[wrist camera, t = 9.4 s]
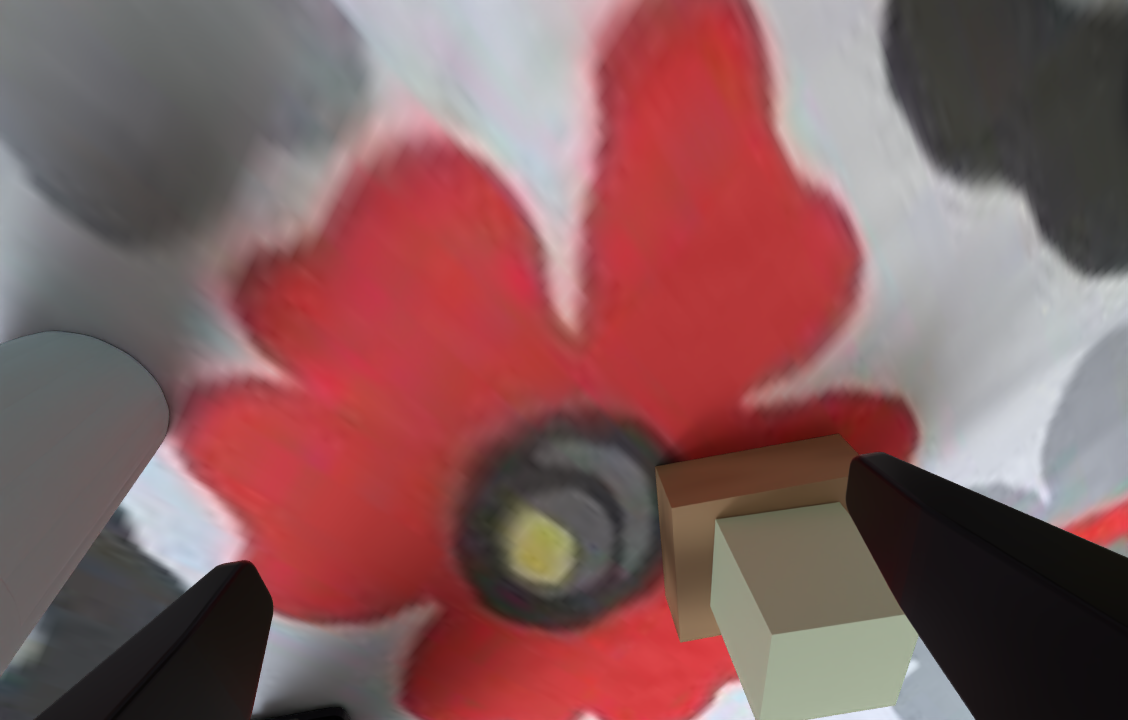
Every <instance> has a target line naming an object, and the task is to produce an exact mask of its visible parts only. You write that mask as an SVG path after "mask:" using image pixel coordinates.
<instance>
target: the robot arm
mask: <svg viewBox="0 0 1128 720" xmlns="http://www.w3.org/2000/svg"><path fill="white" fill-rule="evenodd" d="M845 499H846V506H847V509H848V512H849V514H850V516H851V518H852V520H853V522H854V524H855V525H856V527H857V529H858V531H859V533H860V535H861V537H862V538H863V540H864V542H865V544H866V546H867V548H868V550H869V551H870V553H871V555H872V557H873V559H874V561H875V563H876V564H877V566H878V568H879V570H880V572H881V574H882V576H883V577H884V579H885V581H886V583H887V585H888V587H889V589H890V590H891V592H892V594H893V596H894V597H895V599H896V601H897V603H898V604H899V606H900V608H901V609H902V611H903V612H904V614H905V615H906V617H907V619H908V620H909V622H910V623H911V625H912V626H913V628H914V629H915V631H916V632H917V634H918V635H919V637H920V638H921V640H922V641H923V642H924V644H925V645H926V647H927V648H928V650H929V651H930V653H931V654H932V656H933V657H934V659H935V660H936V662H937V663H938V665H939V666H940V668H941V669H942V671H943V672H944V674H945V675H946V677H947V678H948V680H949V681H950V683H951V684H952V686H953V687H954V688H955V690H956V691H957V693H958V694H959V696H960V697H961V699H962V700H963V702H964V703H965V705H966V706H967V708H968V709H969V711H970V712H971V714H972V715H973V717H974V718H975V720H1128V558H1127V557H1125V556H1123V555H1120V554H1118V553H1116V552H1113V551H1111V550H1109V549H1107V548H1104V547H1102V546H1100V545H1097V544H1095V543H1093V542H1090V541H1088V540H1086V539H1083V538H1081V537H1079V536H1076V535H1074V534H1072V533H1069V532H1067V531H1065V530H1062V529H1060V528H1058V527H1056V526H1053V525H1051V524H1049V523H1046V522H1044V521H1042V520H1039V519H1037V518H1035V517H1032V516H1030V515H1028V514H1025V513H1023V512H1021V511H1018V510H1016V509H1014V508H1011V507H1009V506H1007V505H1005V504H1002V503H1000V502H998V501H995V500H993V499H991V498H988V497H986V496H984V495H981V494H979V493H977V492H974V491H972V490H970V489H967V488H965V487H963V486H960V485H958V484H956V483H953V482H951V481H949V480H947V479H944V478H942V477H940V476H937V475H935V474H933V473H930V472H928V471H926V470H923V469H921V468H919V467H916V466H914V465H912V464H909V463H907V462H905V461H902V460H900V459H898V458H896V457H893V456H891V455H889V454H886V453H883V452H873V453H868V454H862V455H857V456H855V457H853V459H852V460H851V462H850V468H849V475H848V482H847V489H846V498H845ZM272 617H273V601H272V597H271V595H270V593H269V591H268V589H267V588H266V586H265V584H264V582H263V580H262V578H261V577H260V575H259V573H258V571H257V569H256V567H255V566H254V564H253V563H251V562H250V561H246V560H242V561H236V562H230V563H224V564H221V565H218V566H216V567H215V568H214V569H212V570H211V571H210V572H209V573H208V574H206V575H205V576H204V577H203V578H202V579H200V580H199V581H198V582H197V583H196V584H195V585H193V586H192V587H191V588H190V589H189V590H187V591H186V592H185V593H184V594H183V595H181V596H180V597H179V598H178V599H177V600H175V601H174V602H173V603H172V604H171V605H170V606H168V607H167V608H166V609H165V610H164V611H162V612H161V613H160V614H159V615H158V616H156V617H155V618H154V619H153V620H152V621H150V622H149V623H148V624H147V625H146V626H145V627H143V628H142V629H141V630H140V631H139V632H137V633H136V634H135V635H134V636H133V637H131V638H130V639H129V640H128V641H127V642H125V643H124V644H123V645H122V646H121V647H120V648H118V649H117V650H116V651H115V652H114V653H112V654H111V655H110V656H109V657H108V658H106V659H105V660H104V661H103V662H102V663H100V664H99V665H98V666H97V667H96V668H95V669H93V670H92V671H91V672H90V673H89V674H87V675H86V676H85V677H84V678H83V679H81V680H80V681H79V682H78V683H77V684H75V685H74V686H73V687H72V688H71V689H69V690H68V691H67V692H66V693H65V694H64V695H62V696H61V697H60V698H59V699H58V700H56V701H55V702H54V703H53V704H52V705H50V706H49V707H48V708H47V709H46V710H44V711H43V712H42V713H41V714H40V715H39V716H37V717H36V718H35V719H34V720H250V718H251V714H252V710H253V706H254V701H255V697H256V692H257V687H258V682H259V678H260V673H261V668H262V664H263V659H264V654H265V649H266V645H267V640H268V635H269V631H270V626H271V621H272ZM267 720H350V718H349V716H348V715H347V713H346V711H345V710H344V709H342V708H338V707H334V708H328V709H322V710H317V711H311V712H306V713H300V714H294V715H289V716H283V717H278V718H272V719H267Z"/></svg>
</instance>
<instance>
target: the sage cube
mask: <svg viewBox="0 0 1128 720" xmlns="http://www.w3.org/2000/svg"><path fill="white" fill-rule="evenodd" d="M710 607H711V609H712V612H713V614H714V617H715V619H716V622H717V624H718V627H719V629H720V632H721V634H722V637H723V639H724V642H725V644H726V647H727V649H728V652H729V654H730V657H731V659H732V662H733V664H734V667H735V669H736V672H737V674H738V677H739V679H740V682H741V685H742V687H743V690H744V692H745V695H746V697H747V700H748V702H749V705H750V707H751V710H752V712H753V715H754V717H755V720H808V719H814V718H820V717H826V716H832V715H839V714H845V713H851V712H857V711H863V710H869V709H875V708H881V707H888V706H894V705H895V704H896V702H897V699H898V696H899V693H900V690H901V687H902V684H903V681H904V678H905V675H906V672H907V669H908V666H909V663H910V660H911V657H912V654H913V651H914V648H915V645H916V642H917V639H918V636H919V635H918V634H917V632H916V631H915V629H914V628H913V626H912V625H911V623H910V622H909V620H908V619H907V617H906V615H905V614H904V612H903V611H902V609H901V608H900V606H899V604H898V603H897V601H896V599H895V597H894V596H893V594H892V592H891V590H890V589H889V587H888V585H887V583H886V581H885V579H884V577H883V576H882V574H881V572H880V570H879V568H878V566H877V564H876V563H875V561H874V559H873V557H872V555H871V553H870V551H869V550H868V548H867V546H866V544H865V542H864V540H863V538H862V537H861V535H860V533H859V531H858V529H857V527H856V525H855V524H854V522H853V520H852V518H851V516H850V515H849V513H848V512H847V511H846V510H845V508H844V507H843V506H842V505H841V503H840V502H836V503H829V504H822V505H815V506H807V507H800V508H793V509H786V510H779V511H772V512H765V513H758V514H751V515H744V516H737V517H729V518H722V519H715V535H714V552H713V568H712V585H711V601H710Z"/></svg>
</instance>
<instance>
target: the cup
mask: <svg viewBox="0 0 1128 720" xmlns="http://www.w3.org/2000/svg"><path fill="white" fill-rule="evenodd" d="M168 422H169V409H168V405H167V402H166V400H165V397H164V395H163V392H162V390H161V388H160V386H159V385H158V383H157V381H156V380H155V379H154V378H153V376H152V375H151V374H150V373H149V372H148V371H147V370H146V369H145V368H144V367H143V366H142V365H141V364H140V363H139V362H137V361H136V360H135V359H134V358H132V357H131V356H130V355H128V354H127V353H125V352H123V351H122V350H120V349H118V348H116V347H114V346H112V345H110V344H108V343H105V342H103V341H101V340H99V339H96V338H93V337H90V336H86V335H81V334H75V333H68V332H59V331H48V332H40V333H36V334H33V335H28V336H24V337H20V338H17V339H14V340H11V341H8V342H5V343H2V344H0V677H1V675H2V674H3V672H4V671H5V669H6V668H7V666H8V665H9V664H10V662H11V661H12V659H13V657H14V656H15V654H16V653H17V651H18V650H19V648H20V647H21V646H22V644H23V643H24V641H25V640H26V638H27V637H28V635H29V634H30V633H31V631H32V630H33V628H34V627H35V625H36V624H37V623H38V621H39V620H40V618H41V617H42V615H43V614H44V612H45V611H46V610H47V608H48V607H49V605H50V604H51V602H52V601H53V600H54V598H55V597H56V595H57V594H58V592H59V591H60V590H61V588H62V587H63V585H64V584H65V582H66V581H67V579H68V578H69V577H70V575H71V574H72V572H73V571H74V569H75V568H76V567H77V565H78V564H79V562H80V561H81V559H82V558H83V556H84V555H85V554H86V552H87V551H88V549H89V548H90V546H91V545H92V543H93V542H94V541H95V539H96V538H97V536H98V535H99V533H100V532H101V531H102V529H103V528H104V526H105V525H106V523H107V522H108V520H109V519H110V518H111V516H112V515H113V513H114V512H115V510H116V509H117V507H118V506H119V505H120V503H121V502H122V500H123V499H124V497H125V496H126V495H127V493H128V492H129V490H130V489H131V487H132V486H133V484H134V483H135V482H136V480H137V479H138V477H139V476H140V474H141V473H142V472H143V470H144V469H145V467H146V466H147V464H148V463H149V461H150V460H151V459H152V457H153V456H154V454H155V453H156V451H157V450H158V448H159V447H160V445H161V443H162V442H163V440H164V438H165V436H166V432H167V428H168Z"/></svg>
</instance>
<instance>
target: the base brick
mask: <svg viewBox="0 0 1128 720" xmlns="http://www.w3.org/2000/svg"><path fill="white" fill-rule="evenodd" d="M857 455H859V454H858V453H857V452H856V451H855V450H854V449H853V448H852V447H851V446H850V445H849V444H848V443H847V442H846V441H845V440H844V439H843V437H842V436H841V435H840V434H834V435H828V436H823V437H817V438H812V439H806V440H800V441H795V442H789V443H784V444H778V445H772V446H767V447H761V448H756V449H750V450H744V451H739V452H733V453H728V454H722V455H716V456H711V457H705V458H700V459H694V460H688V461H683V462H677V463H672V464H666V465H660V466H655V472H656V484H657V497H658V509H659V522H660V534H661V547H662V560H663V572H664V585H665V596H666V599H667V602H668V605H669V608H670V611H671V615H672V618H673V621H674V624H675V627H676V630H677V633H678V636H679V640H680V642H686V641H691V640H696V639H702V638H707V637H713V636H718V635H722V634H721V632H720V629H719V627H718V624H717V622H716V619H715V617H714V614H713V612H712V609H711V607H710V601H711V585H712V568H713V552H714V535H715V519H722V518H729V517H737V516H744V515H751V514H758V513H765V512H772V511H779V510H786V509H793V508H800V507H807V506H815V505H822V504H829V503H836V502H840V503H841V505H842V506H843V507H844V508H845V510H846V511H847V512H848V509H847V506H846V499H845V498H846V489H847V482H848V475H849V468H850V462H851V460H852V459H853V457H855V456H857ZM848 513H849V512H848ZM849 515H850V514H849Z"/></svg>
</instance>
